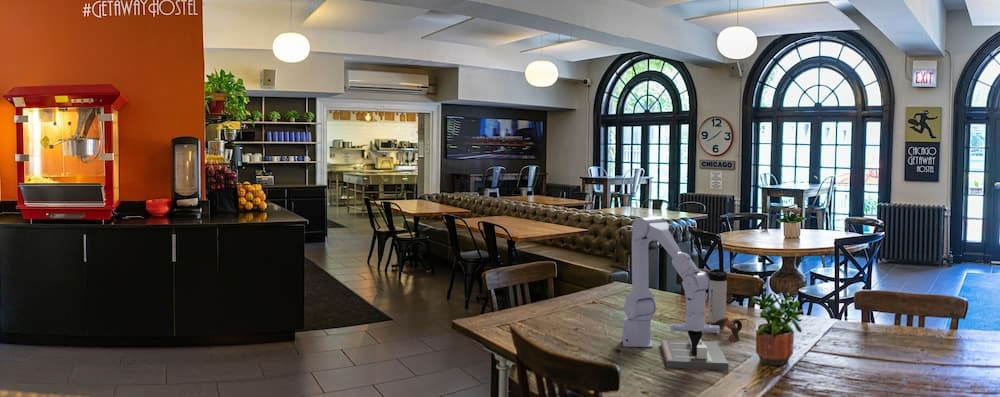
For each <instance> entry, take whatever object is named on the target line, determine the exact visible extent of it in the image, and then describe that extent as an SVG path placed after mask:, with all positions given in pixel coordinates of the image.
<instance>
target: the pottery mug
mask: <svg viewBox="0 0 1000 397" xmlns="http://www.w3.org/2000/svg"><path fill="white" fill-rule="evenodd" d="M723 324H725V326H726V327H727V328H728V329H730V331H731V332H732V333H731V334H730V335H729V336H728V339H729V340H730V343H734V342H735V341H737V340H739V339H740V338H739V333H740V331H741V330H742V328H743V322H741V320H740V319H738V318H737V319H733V320H730V319H729V318H728V316H726V317H725V318H723V319H720V320H718V321H716V322H715V323H711V324H709V325H716V326H719V327H720V331H721V330H724V325H723ZM714 334H715V335H717V334H719V333H714Z"/></svg>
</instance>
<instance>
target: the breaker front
mask: <svg viewBox="0 0 1000 397" xmlns="http://www.w3.org/2000/svg"><path fill="white" fill-rule="evenodd" d="M696 358H697V359H707V347H706V345H697V356H696Z"/></svg>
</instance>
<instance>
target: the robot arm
mask: <svg viewBox="0 0 1000 397" xmlns="http://www.w3.org/2000/svg"><path fill="white" fill-rule="evenodd" d="M631 225H632V230H631V231H632V232H631V234H632V235H631V285H632V286H631V288H632V289H631V290H630V291H629V292H628V293H627V294H626V295H625V302H624V305H623V312H624V315H625V316H626V317H623V318H622V320H623V321H622V333H621V340H622V345H623V347H634V348H635V347H637V348H638V347H639V348H653V344H652V343H653V342H652V339H651V326H652V324H651V323H652V320H651V319H652V318H653V316H654V315H655V313H656V311H657V305H656V302H655V294H654V293H653V292H652V291H650V290H649V286H650V285H649V281H650V280H649V277H650V275H649V271H650V270H649V244H650V243H651V242H652V241H653V240H654V241H658V242H659V243H660V245H661V246H662V247H663V248H664V250H665V251H666V253H668V254H669V256H670V257H671V258H672V259H671V265H672V266H673V267H674V269H675V270H676V272H677V273H678V275H679V276H680V278H681V279H682V281H681V286H682V288H683V290H684V296H685V322H683V323H670V326H669V327H670V332H686V333H687V335H688V334H689V337H690V340H691V343H692V349H691V354H692V356H697V345H698V343H699V341H700V339H701V340H702V338H703V333H713V334H715V333H718V334H720V333H721V329H720V327H719V326H716V325H710V324H706V322H705V321H706V296H707V295H706V294H707V293H706V291H707V290H709V286H710V279H709V275H708V273H707V272H706V271H702V270H701V269H699V268H698V267H697V265H696V264H695V263H694V261H693V259H692V257H691V255H690V254H688V253H687V252H683V251H682V250H681V249H680V246H678V243H677V242H676V240H675V239H674V236H673V235H672V233H671V232H670V230H669V229H670V225H669V223H668V222H667V220H666V219H665V217H664V216H662V215H657V216H647V217H646V216H645V217H637V218H636V219H635V220H634V221H632V223H631Z"/></svg>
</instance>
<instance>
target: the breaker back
mask: <svg viewBox="0 0 1000 397" xmlns="http://www.w3.org/2000/svg"><path fill="white" fill-rule="evenodd" d="M687 341H688V343H689V345H691V340H690V337H689V334H688V333H687Z"/></svg>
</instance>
